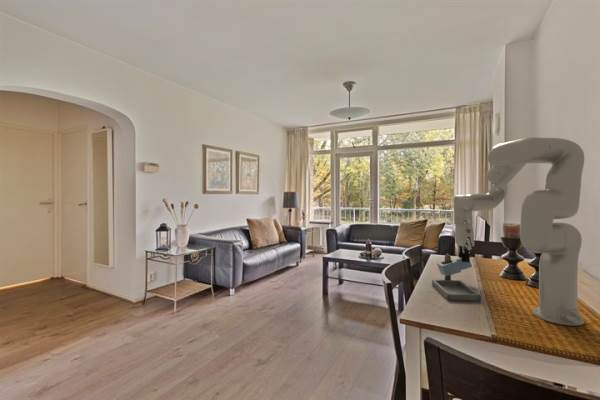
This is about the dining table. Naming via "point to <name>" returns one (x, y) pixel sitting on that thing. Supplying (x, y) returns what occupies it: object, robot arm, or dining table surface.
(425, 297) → the dining table surface
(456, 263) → the light blue chunk
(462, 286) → the tray
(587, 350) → the dining table surface
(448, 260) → the post
